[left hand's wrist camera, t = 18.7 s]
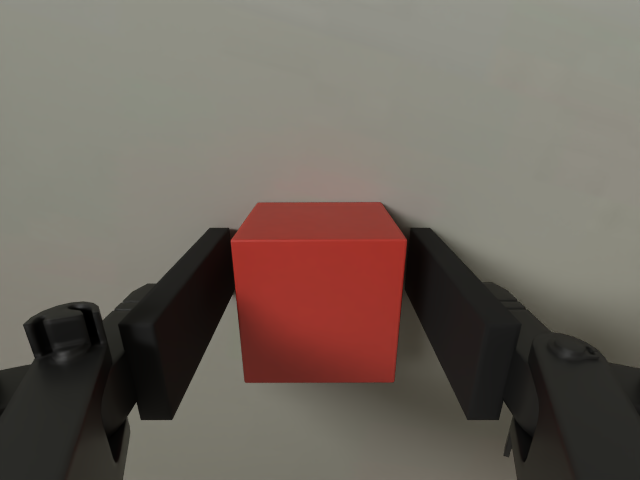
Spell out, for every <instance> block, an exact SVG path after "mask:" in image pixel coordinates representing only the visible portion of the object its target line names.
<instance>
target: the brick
mask: <svg viewBox="0 0 640 480" xmlns="http://www.w3.org/2000/svg"><path fill="white" fill-rule="evenodd" d="M231 249H232V260H233V270H234V280H235V290H236V300H237V310H238V320H239V330H240V341H241V351H242V361H243V371H244V381H245V382H246V383H364V382H394V380H395V370H396V359H397V348H398V337H399V326H400V315H401V304H402V293H403V282H404V271H405V260H406V249H407V239H406V238H405V236H404V235H403V233H402V232H401V230H400V229H399V228H398V226H397V225H396V223H395V222H394V220H393V219H392V217H391V216H390V215H389V213H388V212H387V210H386V209H385V207H384V206H383V205H382V203H381V202H307V203H257V204H256V206H255V207H254V208H253V210H252V211H251V213H250V214H249V215H248V217H247V218H246V220H245V221H244V222H243V224H242V225H241V227H240V228H239V229H238V231H237V232H236V234H235V235H234V237H233V238H232V239H231Z"/></svg>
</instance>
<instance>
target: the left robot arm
mask: <svg viewBox="0 0 640 480" xmlns="http://www.w3.org/2000/svg"><path fill="white" fill-rule="evenodd" d="M234 290H235V284H234V273H233V263H232V253H231V243H230V232H229V228H209V229H208V230H207V231H206V233H205V234H204V235H203V236H202V237H201V238H200V239H199V240H198V241H197V242H196V243H195V244H194V245H193V246H192V247H191V248H190V249H189V250H188V251H187V252H186V253H185V254H184V256H183V257H182V258H181V259H180V260H179V261H178V262H177V263H176V264H175V265H174V266H173V267H172V268H171V269H170V270H169V271H168V272H167V273H166V274H165V275H164V276H163V277H162V279H161V280H160V281H159V282H158V283H157V284H146V285H144V286H142V287H140V288H139V289H137V290H135V291H133V292H132V293H131V294H130V295H129V296H128V297H127V298H126V299H125V300H123V303H120V304H119V305H118V306H117V307H116V308H115V311H112V312H111V313H110V314H109V315H108V316H107V317H106V318H105V319H104V320H103V321H102V318H101V314H100V310H99V306H97V305H96V304H94V303H90V302H73V303H67V304H63V305H58V306H55V307H52V308H50V309H47V310H44V311H42V312H40V313H38V314H37V315H35V316H33V317H31V318H30V319H29V320H28V321H27V322H26V323H24V324H23V326H24V329H25V332H26V335H27V337H28V340H29V343H30V346H31V349H32V351H33V354H34V357H35V359H34V361H33V363H32V364H30V365H25V366H20V367H15V368H10V369H5V370H0V480H123V475H124V469H125V463H126V456H127V450H128V444H129V437H130V426H129V422H128V418H127V416H128V414H129V413H130V411H131V410H132V408H133V407H134V405H135V403H136V402H137V406H138V410H139V414H140V418H141V420H172V419H173V417H174V415H175V413H176V411H177V409H178V407H179V405H180V403H181V401H182V399H183V396H184V394H185V392H186V390H187V388H188V386H189V384H190V382H191V380H192V378H193V376H194V374H195V371H196V369H197V367H198V365H199V363H200V361H201V359H202V357H203V355H204V353H205V351H206V349H207V346H208V344H209V342H210V340H211V338H212V336H213V334H214V332H215V330H216V328H217V326H218V324H219V322H220V319H221V317H222V315H223V313H224V311H225V309H226V307H227V305H228V303H229V301H230V299H231V297H232V294H233V292H234ZM405 291H406V293H407V295H408V297H409V299H410V301H411V303H412V305H413V307H414V309H415V312H416V314H417V316H418V318H419V320H420V322H421V324H422V326H423V328H424V330H425V332H426V334H427V337H428V339H429V341H430V343H431V345H432V347H433V349H434V351H435V353H436V355H437V357H438V359H439V362H440V364H441V366H442V368H443V370H444V372H445V374H446V376H447V378H448V380H449V382H450V384H451V387H452V389H453V391H454V393H455V395H456V397H457V399H458V401H459V403H460V405H461V407H462V409H463V412H464V414H465V416H466V418H467V420H499V417H500V413H501V409H502V404H503V400H504V402H505V404H506V405H507V407H508V408H509V410H510V411H511V413H512V415H513V418H512V422H511V425H510V429H509V433H508V437H507V441H506V445H505V449H504V456H506V457H509V455H510V451H511V449H513V455H514V462H515V468H516V474H517V480H640V369H639V368H634V367H629V366H624V365H618V364H613V363H608V362H607V360H606V359H605V357H604V356H603V355H602V354H601V353H600V352H599V351H598V350H597V349H596V348H594V347H593V346H591V345H590V344H588V343H586V342H584V341H582V340H580V339H577V338H575V337H572V336H568V335H565V334H561V333H552V332H551V331H550V330H548V329H547V328H546V327H545V326H544V325H543V324H542V323H541V322H540V321H539V320H538V319H537V318H536V317H535V316H534V315H533V314H532V313H531V312H530V311H528V310H526V309H525V307H524V306H523V305H522V304H521V303H520V302H517V299H516V298H515V297H514V296H513V295H512V294H511V293H509V292H508V291H507V290H506V289H504V288H502V287H500V286H498V285H496V284H494V283H492V282H481V281H480V280H479V279H478V278H477V277H476V276H475V275H474V274H473V273H472V271H471V270H470V269H469V268H468V267H467V266H466V265H465V264H464V263H463V262H462V261H461V260H460V259H459V258H458V257H457V256H456V255H455V254H454V253H453V252H452V251H451V249H450V248H449V247H448V246H447V245H446V244H445V243H444V242H443V241H442V240H441V239H440V238H439V237H438V236H437V235H436V234H435V233H434V232H433V231H432V230H431V229H430V228H411V230H410V240H409V251H408V261H407V271H406V281H405Z"/></svg>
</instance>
